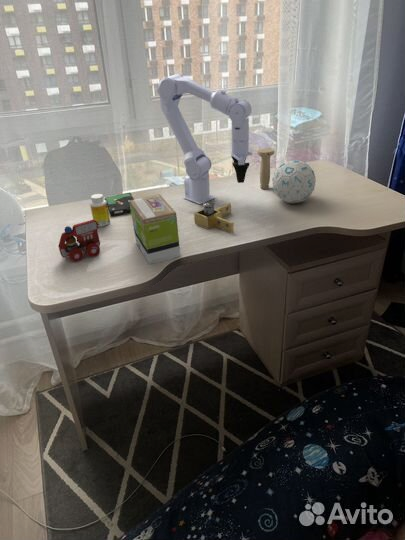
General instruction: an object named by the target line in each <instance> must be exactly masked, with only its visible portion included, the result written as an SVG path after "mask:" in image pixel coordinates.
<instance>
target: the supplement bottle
mask: <svg viewBox="0 0 405 540" xmlns="http://www.w3.org/2000/svg"><path fill="white" fill-rule="evenodd" d="M90 199H91V201H90V202H89V207H90V211H91V216H92V217H91V218H92V220H96V221H97V223H98V228H99V227H105V226H108V225H109V224H110V223H111V218H110V212H109V210H108V207H107V202H106V200H105V198H104V195H103V194H102V193H95V194H92V195H91V196H90Z"/></svg>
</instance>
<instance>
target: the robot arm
mask: <svg viewBox="0 0 405 540" xmlns="http://www.w3.org/2000/svg"><path fill="white" fill-rule="evenodd" d="M156 91H157V92H158V95H159V100H160V101H159V102H160V109H161V111H162V113H163V115H164V117H165V118H166V121H167V123H168V124H169V126H170V128H171V131H172V133H173V134H174V136H175V139H176V141H177V142H178V145H179V146H180V149H181V150H182V152H183V154H184V158H183V164H184V166H185V173H186V174H187V175H186V176H185V177H184V179H183V183H184V184H183V185H184V186H183V187H184V196H183V199H185V200H187V201H190V202H193V203H195V204H197V205H203V203H204V202H207V201H211V200H213V199H215V196H213V195H210V193H211V192H210V170H211V168H212V161H211V158H210V157H209V156H207V155H206V153H205V151H204V150H202V149H201V148H199V146H198V145H197V143H196V140H195V138H194V137H193V135H192V132H191V131H190V129H189V127H188V125H187V123H186V120H185V118H184V117H183V114H182V112H181V110H180V108H179V104H180V100H181V98H182V96H183V95H184V94H190V95H191V96H194V97H197V98H199V99H201V100H204V101H206V102H208V103H209V105H210V107H211V108H212V109H214V110H216V111H218V112H220V113H222V114H224V115H226V116H228V117H229V119H230V121H231V153H230V155H231V158H232V161H233V162H232V164H231V165H232V167H233V168H234V171H235V175H236V181H237V183H238V184H240V183H241V184H243V183H244V182H245V178H246V174H247V170H248V168H249V167H250V162H246V160H247V158H248V157H249V156H252V155H253V153H252V151H251V150H249V147H250V146H249V145H250V144H249V143H250V141H249V139H250V138H249V137H250V125H249V124H250V118H249V117H250V115H251V113H252V105H251V104H250V103H249V102H248V101H247V100H246V99H240V100H239V97H237V96H236V97H233V96H231V95H229V94H227V91H226V90H223V89H222V90H216V91H213V90H211V89H209V88H207V87H205V86H203V85H202V84H200V83H198V82H196V81H195V80H193V79H191V78H190V77H189V76H188V75H183V74H182V73H175V74H172V75H170V76H164V77H162V78H161V79H160V81H159V83H158V86H157V89H156Z"/></svg>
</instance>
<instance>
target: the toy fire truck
mask: <svg viewBox="0 0 405 540" xmlns="http://www.w3.org/2000/svg"><path fill="white" fill-rule="evenodd" d="M98 228H99V226H98V223H97V221H96V220H93V219H90V220H87V221H83V222H80V223H76V224H73V225H72V227H71V226H67V225H66V226H65V227H64V232H62V233H61V235H60V239H59V241H58V246H57V247H58V250H59V253H60V256H61V257H62V258H68V257H69V259H70V261H72V262H74V263H77V262H80V261H81V260H83V258H84V252H85V254H87V256H88V257H90V258H95V257H97V256H98V255H99V254H100V252H101V247H100V246H101V240H100V236H99V231H98Z"/></svg>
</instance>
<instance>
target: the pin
mask: <svg viewBox="0 0 405 540" xmlns="http://www.w3.org/2000/svg"><path fill="white" fill-rule="evenodd" d="M202 206H203V209H204V216H206V217H209V216H211V215H213V214H214V209H215V202H214V201H211V200H209V201H207V202H204V203H202Z"/></svg>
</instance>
